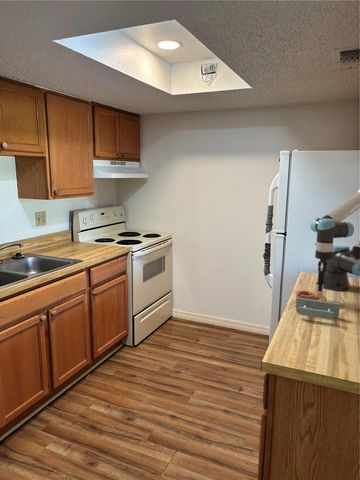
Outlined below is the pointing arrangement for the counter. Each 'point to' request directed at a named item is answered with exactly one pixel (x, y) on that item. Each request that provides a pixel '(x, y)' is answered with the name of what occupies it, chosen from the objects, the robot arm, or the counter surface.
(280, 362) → the counter surface
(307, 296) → the bracket
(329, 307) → the plate
